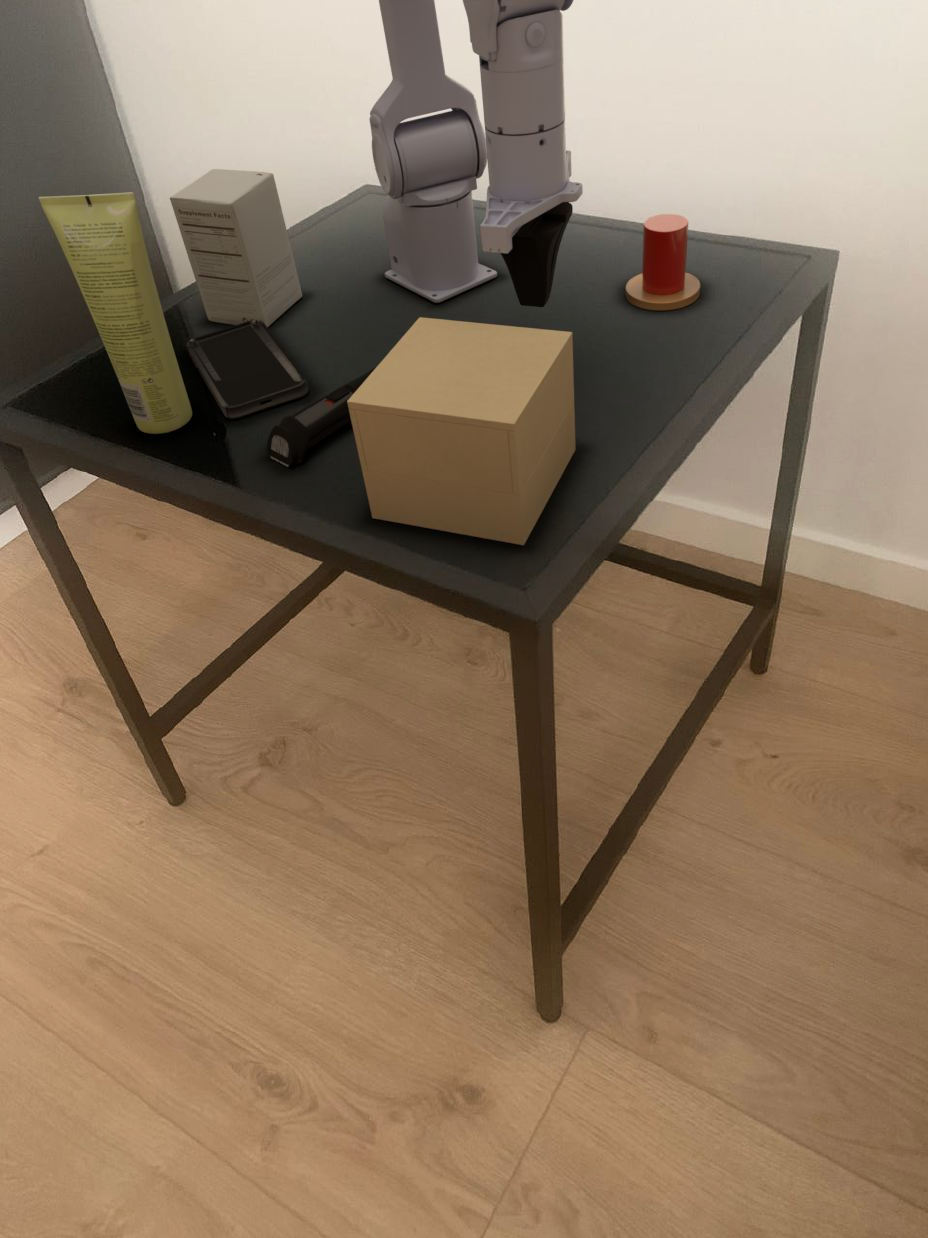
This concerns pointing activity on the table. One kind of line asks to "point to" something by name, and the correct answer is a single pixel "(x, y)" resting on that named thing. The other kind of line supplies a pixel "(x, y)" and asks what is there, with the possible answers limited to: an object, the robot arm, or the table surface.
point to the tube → (123, 302)
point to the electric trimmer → (312, 424)
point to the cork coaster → (662, 302)
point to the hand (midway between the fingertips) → (534, 302)
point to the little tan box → (467, 427)
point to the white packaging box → (238, 246)
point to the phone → (246, 369)
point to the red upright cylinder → (664, 254)
